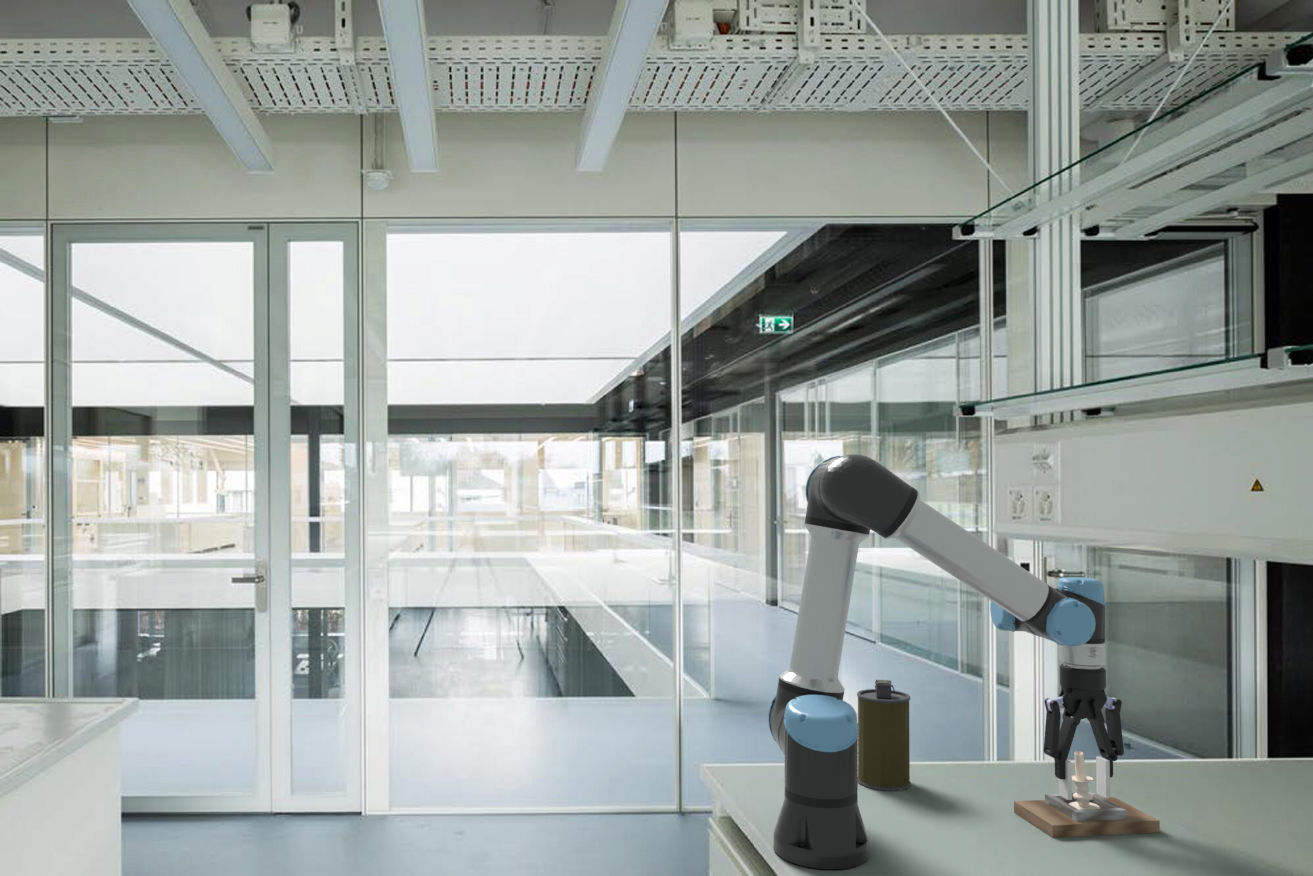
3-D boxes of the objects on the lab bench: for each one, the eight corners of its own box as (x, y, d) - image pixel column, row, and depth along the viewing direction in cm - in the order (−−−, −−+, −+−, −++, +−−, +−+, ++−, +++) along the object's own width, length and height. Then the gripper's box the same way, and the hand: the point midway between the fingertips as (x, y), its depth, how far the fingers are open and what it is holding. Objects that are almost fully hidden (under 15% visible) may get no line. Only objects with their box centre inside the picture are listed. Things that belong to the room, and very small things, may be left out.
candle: (1104, 814, 157) (1098, 753, 158) (1072, 814, 158) (1067, 753, 158) (1094, 804, 162) (1089, 745, 163) (1064, 804, 163) (1058, 745, 163)
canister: (912, 793, 174) (912, 688, 175) (857, 789, 176) (857, 685, 177) (908, 776, 185) (908, 677, 186) (856, 772, 187) (856, 674, 188)
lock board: (1052, 837, 152) (1052, 816, 152) (1014, 812, 164) (1013, 792, 164) (1159, 832, 155) (1159, 811, 155) (1114, 808, 167) (1114, 788, 167)
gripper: (1043, 670, 156) (1045, 806, 155) (1146, 668, 159) (1149, 801, 158) (1020, 661, 163) (1021, 791, 162) (1118, 660, 166) (1120, 787, 165)
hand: (1084, 796), depth 160 cm, fingers open, 7 cm apart
